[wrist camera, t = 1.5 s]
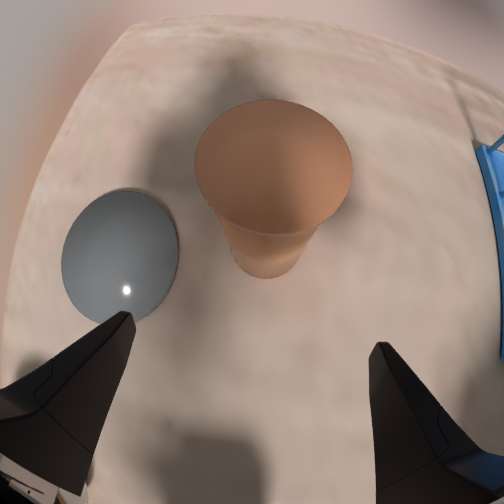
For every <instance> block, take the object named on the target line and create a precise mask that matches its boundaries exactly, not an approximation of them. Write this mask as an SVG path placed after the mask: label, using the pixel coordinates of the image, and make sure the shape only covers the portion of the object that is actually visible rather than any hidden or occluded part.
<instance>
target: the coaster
mask: <svg viewBox="0 0 504 504" xmlns="http://www.w3.org/2000/svg"><path fill="white" fill-rule="evenodd" d="M178 260H179V246H178V239H177V234H176V231H175V228H174V225H173V223H172V221H171V219H170V218H169V216H168V215H167V213H166V212H165V211H164V209H163V208H162V207H161V206H160V205H159V204H158V203H157V202H155V201H154V200H153V199H151V198H149V197H147V196H145V195H143V194H140V193H136V192H129V191H122V192H115V193H111V194H108V195H106V196H103V197H101V198H99V199H97V200H96V201H94V202H93V203H91V204H90V205H89V206H88V207H87V208H85V209H84V210H83V211H82V213H81V214H80V215H79V216H78V217H77V219H76V220H75V222H74V223H73V225H72V226H71V228H70V230H69V232H68V235H67V237H66V240H65V243H64V247H63V252H62V260H61V271H62V278H63V283H64V286H65V289H66V292H67V294H68V296H69V298H70V300H71V302H72V303H73V304H74V306H75V307H76V308H77V309H78V310H79V312H81V313H82V314H83V315H84V316H85V317H87V318H89V319H90V320H92V321H94V322H97V323H100V324H102V323H103V322H105V321H106V320H108V319H109V318H110V317H112V316H113V315H115V314H116V313H118V312H119V311H128V312H131V313H132V315H133V319H134V322H136V321H138V320H141V319H142V318H144V317H146V316H147V315H149V314H150V313H151V312H152V311H153V310H155V309H156V308H157V307H158V305H159V304H160V303H161V302H162V301H163V299H164V298H165V297H166V295H167V293H168V292H169V290H170V288H171V286H172V283H173V281H174V278H175V275H176V271H177V267H178Z"/></svg>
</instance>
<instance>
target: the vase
mask: <svg viewBox="0 0 504 504" xmlns="http://www.w3.org/2000/svg"><path fill="white" fill-rule="evenodd" d="M352 171H353V169H352V159H351V155H350V151H349V149H348V146H347V144H346V142H345V140H344V138H343V137H342V135H341V134H340V132H339V131H338V130H337V129H336V128H335V127H334V125H333V124H332V123H331V122H329V121H328V120H327V119H326V118H325V117H323V116H322V115H320V114H319V113H317V112H315V111H313V110H312V109H310V108H307V107H305V106H302V105H300V104H296V103H293V102H288V101H281V100H260V101H254V102H249V103H245V104H242V105H239V106H237V107H235V108H232V109H230V110H229V111H227V112H225V113H224V114H222V115H221V116H220V117H218V118H217V119H216V120H215V121H214V122H213V123H212V124H211V125H210V126H209V127H208V128H207V130H206V131H205V132H204V134H203V136H202V137H201V139H200V141H199V144H198V146H197V150H196V154H195V174H196V178H197V182H198V185H199V187H200V189H201V192H202V194H203V196H204V198H205V200H206V201H207V203H208V204H209V206H210V207H211V208H212V209H213V210H214V212H215V213H217V214H218V216H219V219H220V222H221V225H222V227H223V230H224V233H225V235H226V238H227V241H228V243H229V246H230V249H231V251H232V254H233V257H234V259H235V261H236V263H237V264H238V265H239V267H240V268H241V269H242V270H243V271H245V272H246V273H247V274H249V275H251V276H254V277H257V278H262V279H271V278H276V277H279V276H281V275H283V274H285V273H286V272H288V271H289V270H290V269H291V268H292V267H293V266H294V264H295V263H296V261H297V260H298V258H299V257H300V255H301V254H302V252H303V250H304V249H305V247H306V246H307V244H308V242H309V241H310V239H311V238H312V236H313V234H314V233H315V231H316V229H317V228H318V226H319V225H320V224H322V223H323V222H325V221H326V220H327V219H328V218H329V217H331V216H332V215H333V213H334V212H335V211H336V210H337V209H338V208H339V206H340V205H341V203H342V201H343V200H344V198H345V197H346V195H347V192H348V190H349V188H350V184H351V180H352Z"/></svg>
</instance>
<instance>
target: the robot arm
mask: <svg viewBox="0 0 504 504" xmlns="http://www.w3.org/2000/svg"><path fill="white" fill-rule="evenodd" d="M135 333H136V326H135V323H134V319H133V315H132V313H131V312H128V311H119V312H118V313H116V314H115V315H113V316H112V317H110V318H109V319H108V320H106V321H105V322H103V323H102V324H100V325H99V326H97V327H96V328H95V329H93V330H92V331H90V332H89V333H87V334H86V335H84V336H83V337H82V338H80V339H79V340H77V341H76V342H74V343H73V344H72V345H70V346H69V347H67V348H66V349H64V350H63V351H62V352H60V353H59V354H57V355H56V356H55V357H54V358H52V359H50V360H49V361H47V362H46V363H45V364H43V365H42V366H40V367H39V368H37V369H36V370H34V371H32V372H31V373H29V374H28V375H26V376H24V377H22V378H21V379H19V380H17V381H15V382H14V383H12V384H10V385H9V386H7V387H5V388H2V389H0V504H61V503H60V501H59V499H58V496H57V494H58V491H59V488H61V489H63V490H65V491H68V492H70V493H72V494H74V495H77V496H79V497H81V495H82V491H83V488H84V484H85V481H86V477H87V474H88V471H89V468H90V464H91V461H92V458H93V454H94V452H95V448H96V445H97V442H98V440H99V437H100V434H101V431H102V428H103V425H104V422H105V420H106V417H107V414H108V411H109V409H110V406H111V403H112V401H113V398H114V395H115V393H116V390H117V388H118V385H119V383H120V380H121V377H122V375H123V373H124V370H125V367H126V364H127V361H128V357H129V354H130V350H131V347H132V343H133V340H134V337H135ZM369 397H370V407H371V417H372V427H373V439H374V454H375V474H376V504H504V456H499V455H495V454H491V453H487V452H485V451H483V450H482V449H480V448H479V447H478V446H477V445H476V444H475V443H474V442H473V441H472V440H471V439H470V438H469V436H468V435H467V434H466V433H465V432H464V431H463V430H462V429H461V428H460V427H459V426H458V425H457V424H456V423H455V422H454V420H453V419H452V418H451V417H450V416H449V414H448V413H447V412H446V411H445V410H444V408H443V407H442V406H440V403H439V402H438V401H437V400H436V398H435V397H434V396H433V395H432V394H431V392H430V391H429V390H428V389H427V387H426V386H425V385H424V384H423V383H422V381H421V380H420V379H419V378H418V377H417V375H416V374H415V373H414V372H413V371H412V369H411V368H410V367H409V366H408V365H407V363H406V362H405V361H404V360H403V359H402V358H401V356H400V355H399V354H398V353H397V352H396V351H395V349H394V348H393V347H392V346H391V345H390V344H389V343H388V342H377V343H376V345H375V347H374V349H373V350H372V352H371V354H370V356H369Z"/></svg>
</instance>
